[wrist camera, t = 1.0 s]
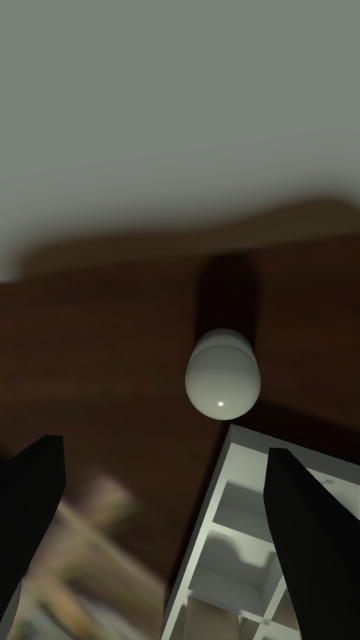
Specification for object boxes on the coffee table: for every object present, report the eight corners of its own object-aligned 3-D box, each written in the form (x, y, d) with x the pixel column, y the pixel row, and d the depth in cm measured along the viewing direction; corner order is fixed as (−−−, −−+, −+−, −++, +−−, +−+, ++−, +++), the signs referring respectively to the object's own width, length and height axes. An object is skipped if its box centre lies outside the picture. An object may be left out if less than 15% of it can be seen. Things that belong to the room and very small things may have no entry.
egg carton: (416, 484, 22) (503, 586, 15) (313, 674, 26) (343, 818, 20) (230, 423, 23) (233, 492, 16) (163, 615, 28) (143, 732, 21)
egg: (262, 338, 21) (277, 371, 15) (242, 393, 22) (249, 446, 16) (202, 320, 22) (192, 345, 15) (186, 375, 23) (170, 420, 16)
